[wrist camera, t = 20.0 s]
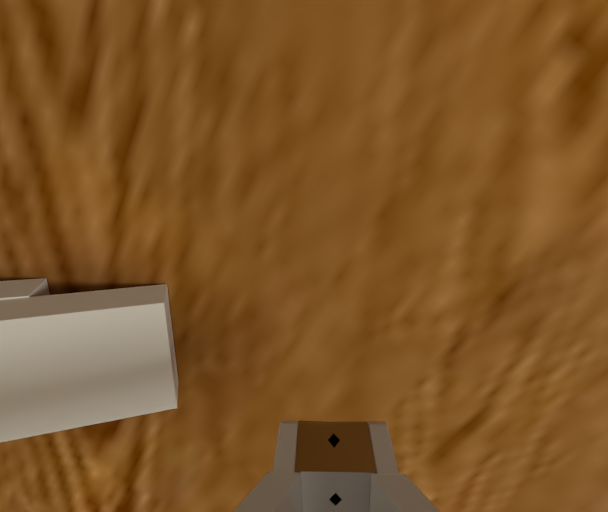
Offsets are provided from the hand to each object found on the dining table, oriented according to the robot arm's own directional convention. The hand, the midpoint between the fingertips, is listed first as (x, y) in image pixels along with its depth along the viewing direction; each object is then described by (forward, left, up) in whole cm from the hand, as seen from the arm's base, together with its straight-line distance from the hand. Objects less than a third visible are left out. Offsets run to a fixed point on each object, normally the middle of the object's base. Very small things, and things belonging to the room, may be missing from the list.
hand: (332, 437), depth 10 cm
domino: (0, +7, -5) cm, 8 cm away
